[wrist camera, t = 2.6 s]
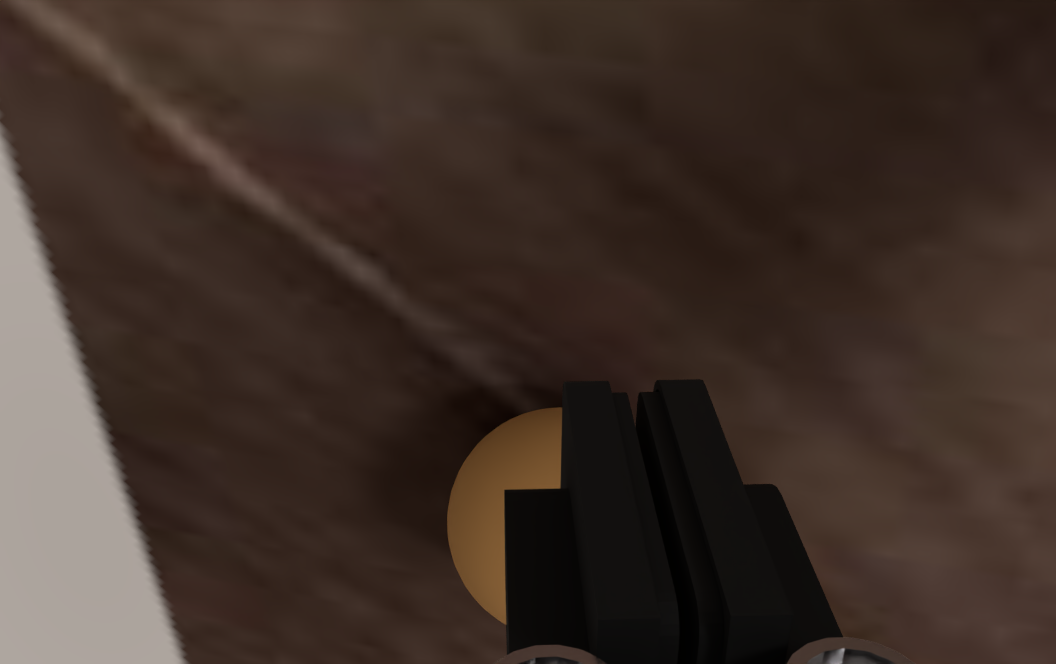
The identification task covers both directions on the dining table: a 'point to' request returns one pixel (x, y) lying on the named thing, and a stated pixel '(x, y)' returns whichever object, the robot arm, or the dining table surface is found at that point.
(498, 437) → the ball
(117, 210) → the dining table surface
